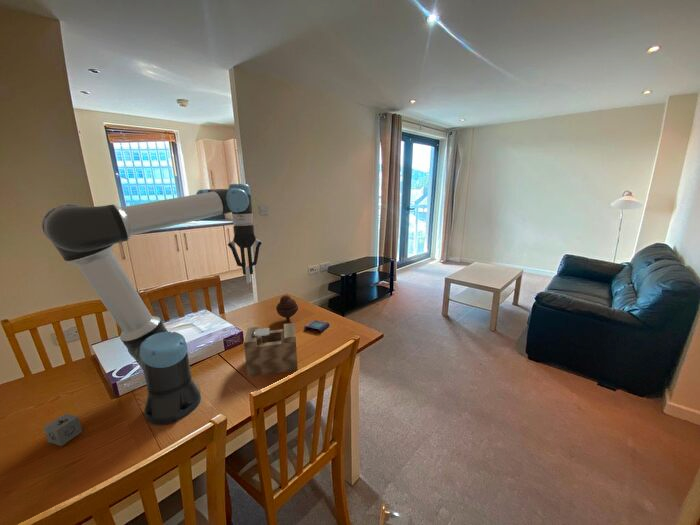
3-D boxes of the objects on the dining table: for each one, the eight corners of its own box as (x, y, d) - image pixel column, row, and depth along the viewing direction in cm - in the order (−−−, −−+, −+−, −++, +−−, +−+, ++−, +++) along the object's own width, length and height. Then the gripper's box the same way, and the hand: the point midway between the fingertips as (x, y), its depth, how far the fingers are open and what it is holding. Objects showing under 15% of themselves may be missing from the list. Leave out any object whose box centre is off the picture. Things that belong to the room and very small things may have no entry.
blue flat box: (303, 325, 140) (315, 318, 149) (303, 331, 140) (315, 323, 150) (320, 329, 136) (331, 321, 145) (320, 335, 136) (331, 327, 146)
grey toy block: (61, 446, 79) (56, 430, 77) (48, 442, 80) (43, 426, 79) (82, 431, 83) (78, 416, 82) (69, 428, 85) (65, 413, 83)
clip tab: (252, 337, 108) (252, 335, 107) (253, 331, 112) (253, 329, 112) (269, 335, 109) (268, 332, 109) (269, 329, 113) (269, 327, 113)
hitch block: (247, 377, 107) (243, 342, 104) (250, 359, 118) (247, 327, 115) (297, 369, 111) (295, 336, 107) (296, 353, 122) (294, 322, 119)
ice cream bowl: (273, 327, 146) (270, 299, 142) (284, 318, 156) (282, 291, 153) (292, 330, 143) (290, 301, 139) (302, 320, 153) (301, 293, 150)
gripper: (223, 226, 111) (230, 286, 116) (259, 224, 113) (264, 283, 119) (227, 224, 118) (233, 280, 123) (261, 222, 121) (265, 278, 126)
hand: (249, 281), depth 121 cm, fingers closed
